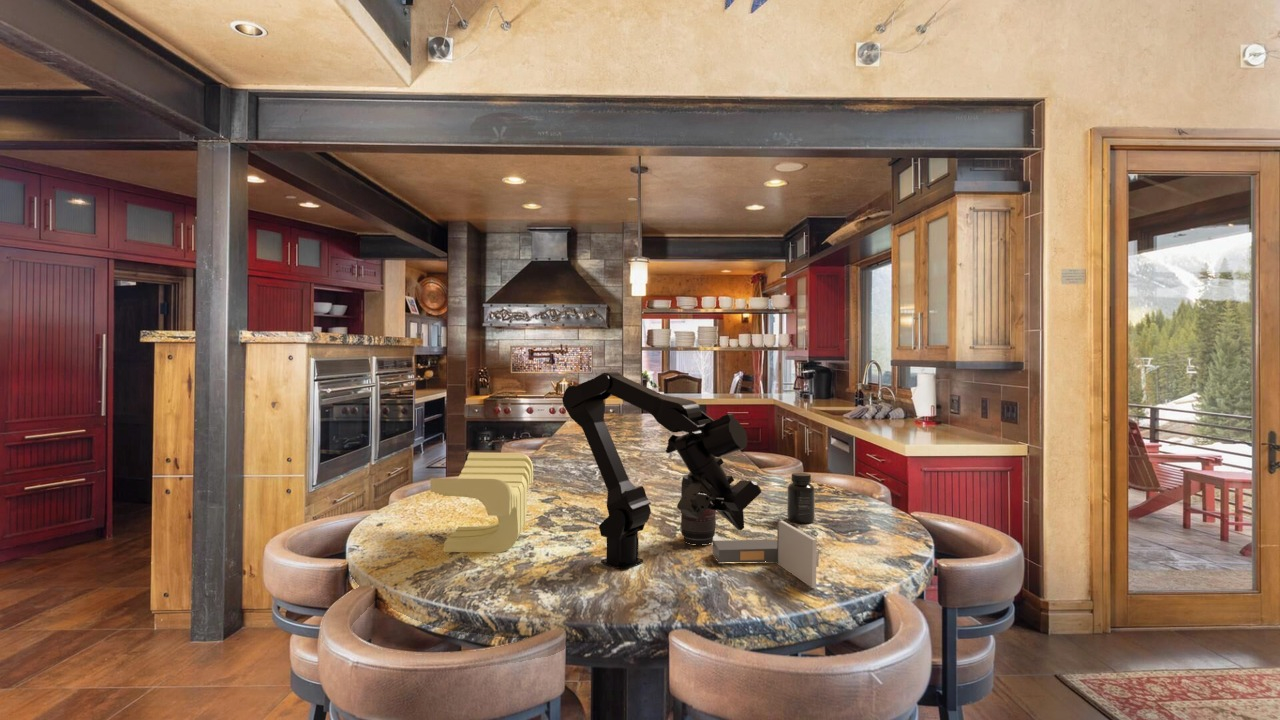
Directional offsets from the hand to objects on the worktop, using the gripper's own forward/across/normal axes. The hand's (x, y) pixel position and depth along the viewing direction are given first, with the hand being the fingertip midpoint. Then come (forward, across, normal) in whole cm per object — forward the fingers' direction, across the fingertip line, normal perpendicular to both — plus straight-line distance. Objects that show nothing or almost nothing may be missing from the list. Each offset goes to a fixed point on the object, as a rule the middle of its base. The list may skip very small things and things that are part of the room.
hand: (741, 528), depth 122 cm
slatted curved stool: (-18, -44, -35) cm, 59 cm away
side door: (+14, +2, +4) cm, 15 cm away
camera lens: (+8, -24, +1) cm, 25 cm away
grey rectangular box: (+11, -9, +3) cm, 15 cm away
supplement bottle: (+24, -27, +30) cm, 47 cm away
